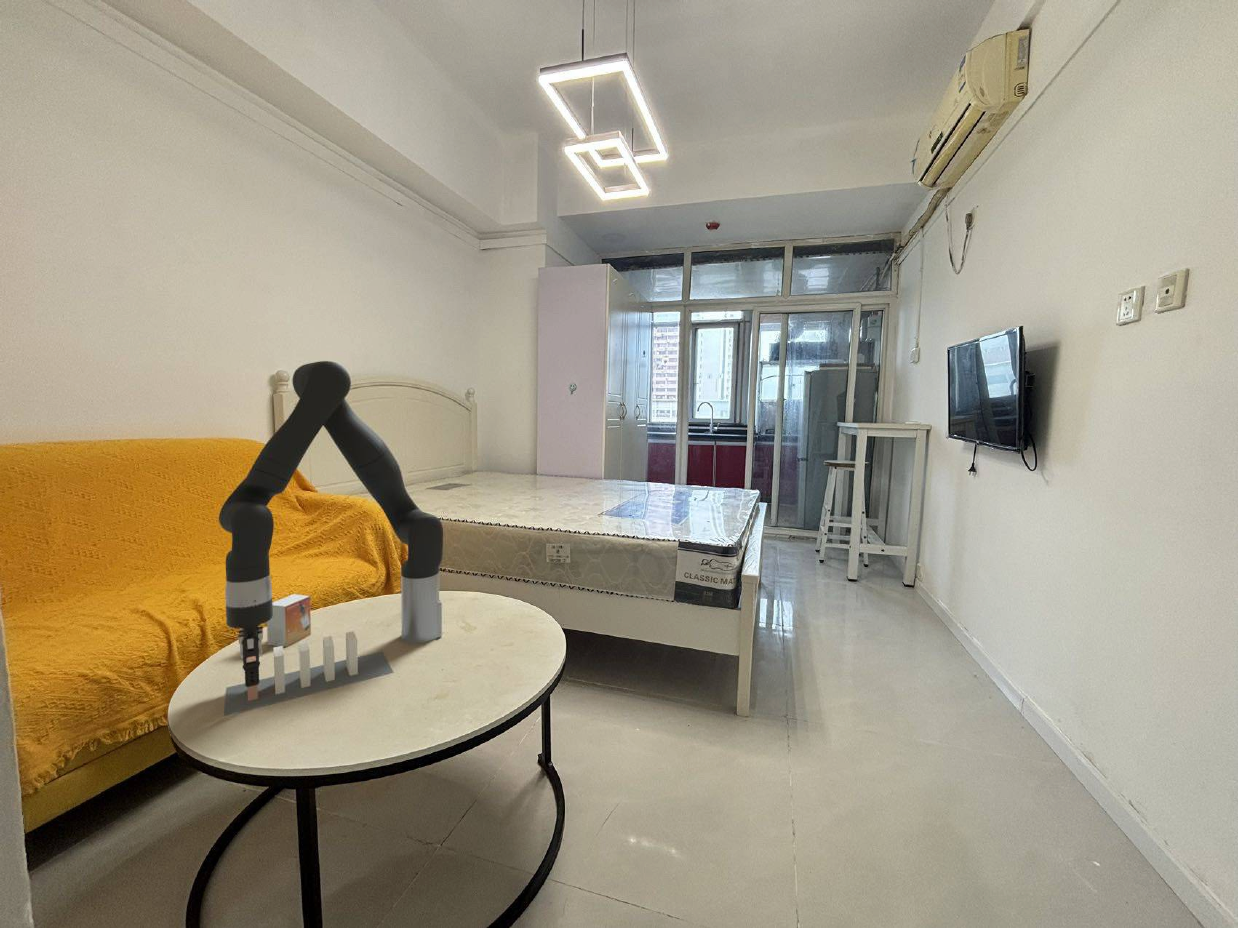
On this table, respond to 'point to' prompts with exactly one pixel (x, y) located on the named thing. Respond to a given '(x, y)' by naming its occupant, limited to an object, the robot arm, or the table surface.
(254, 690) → the domino
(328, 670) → the domino
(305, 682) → the domino
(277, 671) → the domino
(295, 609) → the small box
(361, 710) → the table surface
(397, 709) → the table surface
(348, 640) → the domino
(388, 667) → the mat
